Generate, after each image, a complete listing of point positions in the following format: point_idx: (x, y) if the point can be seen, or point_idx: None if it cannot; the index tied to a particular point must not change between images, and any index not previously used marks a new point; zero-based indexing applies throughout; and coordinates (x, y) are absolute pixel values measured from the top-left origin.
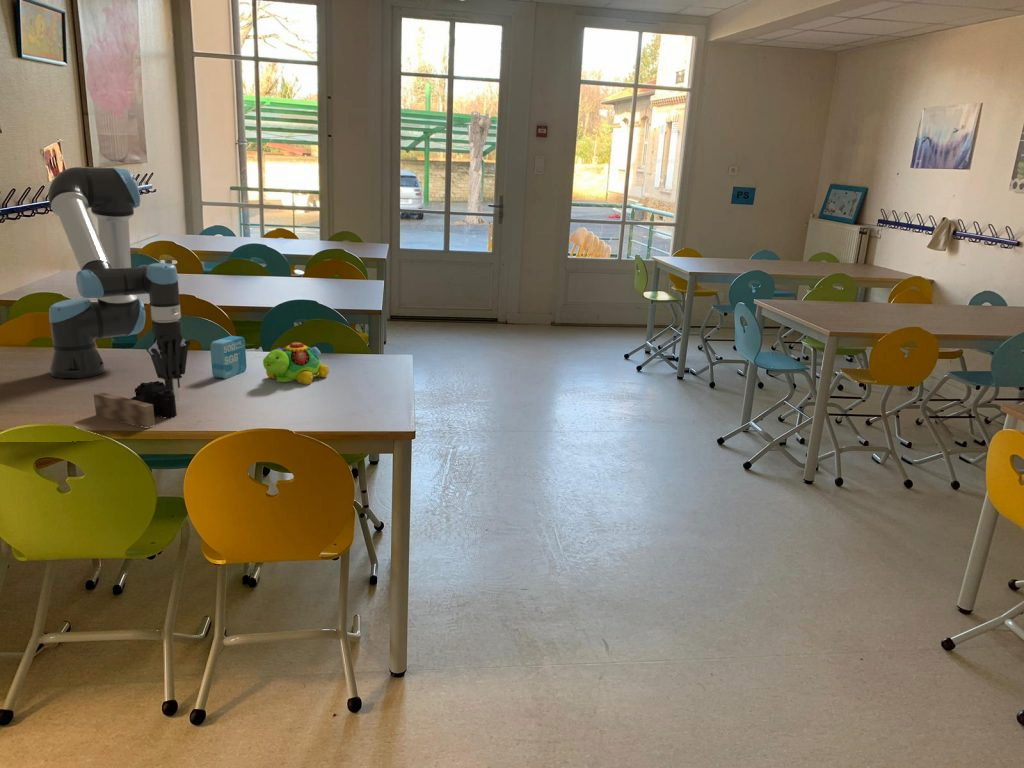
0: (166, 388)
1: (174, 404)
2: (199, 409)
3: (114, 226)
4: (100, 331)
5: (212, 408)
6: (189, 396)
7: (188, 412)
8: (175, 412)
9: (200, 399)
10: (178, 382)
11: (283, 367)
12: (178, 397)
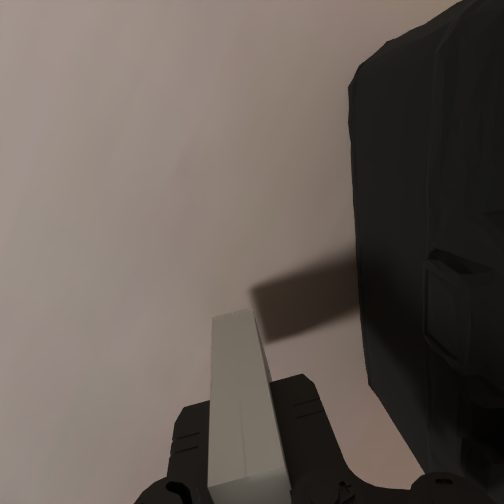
0: (500, 234)
1: (432, 22)
2: (141, 98)
3: None
4: None
5: (34, 40)
6: (83, 421)
7: (246, 86)
8: (383, 48)
9: (40, 325)
10: (183, 458)
11: None
12: (217, 330)
